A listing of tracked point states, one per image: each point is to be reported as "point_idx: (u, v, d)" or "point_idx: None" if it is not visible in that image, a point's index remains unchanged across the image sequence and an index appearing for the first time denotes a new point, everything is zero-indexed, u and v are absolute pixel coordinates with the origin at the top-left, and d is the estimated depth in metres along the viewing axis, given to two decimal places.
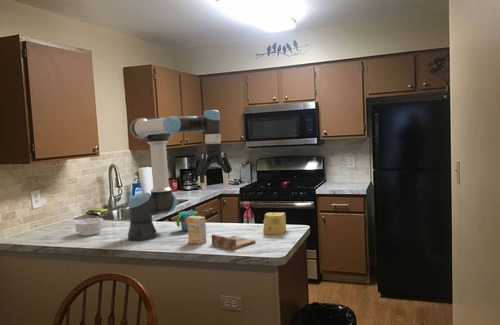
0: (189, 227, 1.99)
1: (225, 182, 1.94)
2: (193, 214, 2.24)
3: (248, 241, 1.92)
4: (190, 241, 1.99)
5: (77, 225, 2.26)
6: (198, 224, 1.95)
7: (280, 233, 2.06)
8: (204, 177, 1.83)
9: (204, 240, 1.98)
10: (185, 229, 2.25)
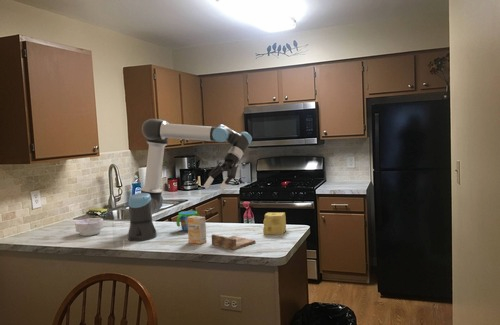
0: (189, 227, 1.99)
1: (207, 184, 2.11)
2: (193, 214, 2.24)
3: (248, 241, 1.92)
4: (190, 241, 1.99)
5: (77, 225, 2.26)
6: (198, 224, 1.95)
7: (280, 233, 2.06)
8: None
9: (204, 240, 1.98)
10: (185, 229, 2.25)
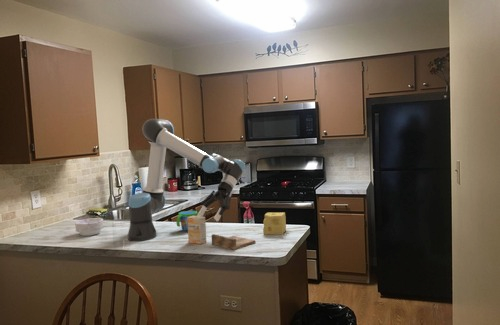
0: (189, 226, 1.99)
1: (201, 214, 2.08)
2: (193, 214, 2.24)
3: (248, 241, 1.92)
4: (190, 241, 1.99)
5: (77, 225, 2.26)
6: (198, 224, 1.95)
7: (280, 233, 2.06)
8: None
9: (204, 240, 1.98)
10: (185, 229, 2.25)
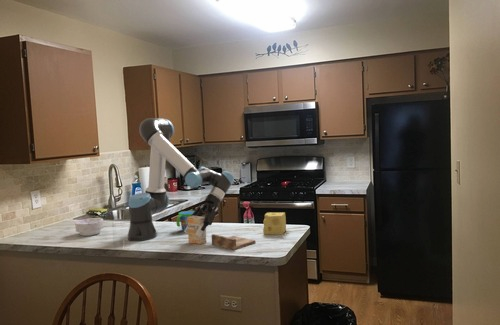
0: (189, 226, 1.99)
1: None
2: None
3: (248, 241, 1.92)
4: (190, 241, 1.99)
5: (77, 225, 2.26)
6: (198, 224, 1.95)
7: (280, 233, 2.06)
8: None
9: (204, 240, 1.98)
10: None
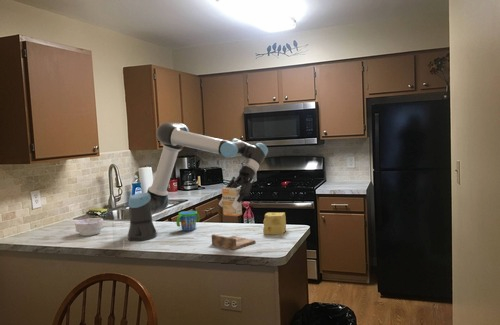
0: (224, 198, 1.92)
1: None
2: (193, 214, 2.24)
3: (248, 241, 1.92)
4: (225, 213, 1.93)
5: (77, 225, 2.26)
6: (234, 195, 1.89)
7: (280, 233, 2.06)
8: None
9: (240, 212, 1.91)
10: (185, 229, 2.25)
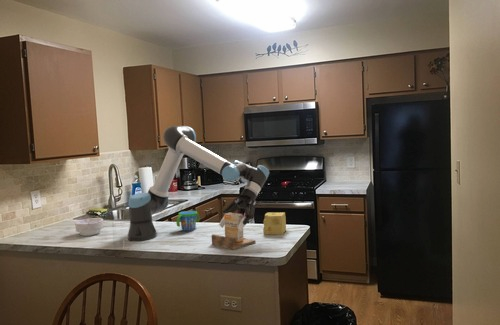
0: (226, 224, 1.93)
1: (223, 223, 1.97)
2: (193, 214, 2.24)
3: (248, 241, 1.92)
4: None
5: (77, 225, 2.26)
6: (236, 221, 1.89)
7: (280, 233, 2.06)
8: None
9: (241, 238, 1.92)
10: (185, 229, 2.25)
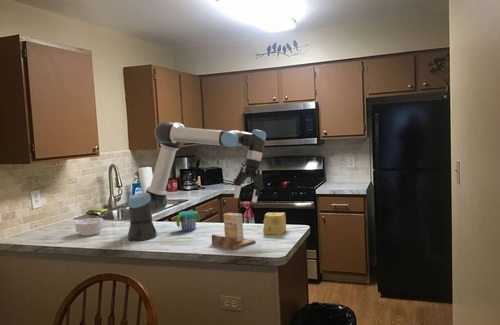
0: (225, 224, 1.93)
1: (237, 194, 2.10)
2: (193, 214, 2.24)
3: (248, 241, 1.92)
4: None
5: (77, 225, 2.26)
6: (235, 221, 1.89)
7: (280, 233, 2.06)
8: None
9: (241, 238, 1.92)
10: (185, 229, 2.25)
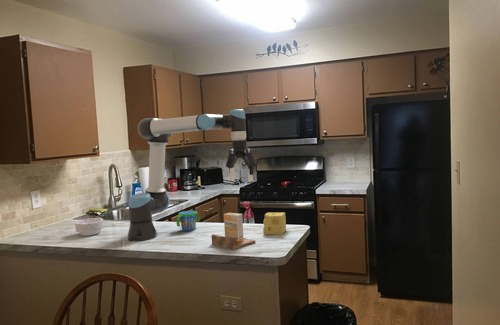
0: (226, 224, 1.93)
1: (233, 176, 2.11)
2: (193, 214, 2.24)
3: (248, 241, 1.92)
4: None
5: (77, 225, 2.26)
6: (236, 221, 1.89)
7: (280, 233, 2.06)
8: None
9: (241, 238, 1.92)
10: (185, 229, 2.25)
